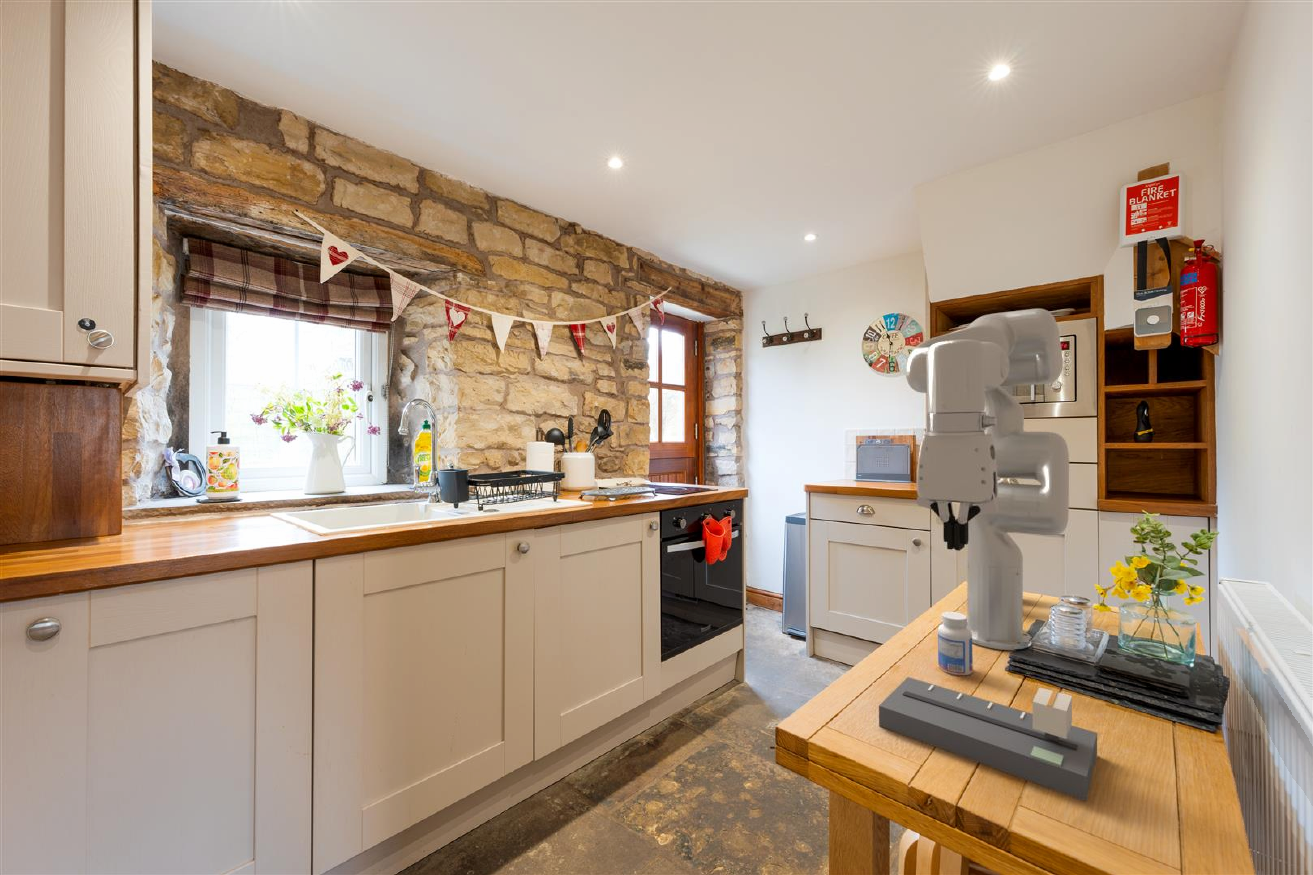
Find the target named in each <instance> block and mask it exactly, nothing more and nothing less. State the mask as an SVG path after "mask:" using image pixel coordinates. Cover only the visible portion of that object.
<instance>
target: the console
mask: <svg viewBox="0 0 1313 875" xmlns="http://www.w3.org/2000/svg"><path fill="white" fill-rule="evenodd" d="M878 726H879V727H881V728H884V729H887V730H890V731H893V732H895V733H897V734H899V735H902V736H906V737H908V738H910V739H914V740H916V741H919V742H923V743H925V744H927V745H930V746H933V747H936V748H938V749H940V750H944V751H947V752H949V753H952V754H954V755H958V756H960V757H962V758H965V759H968V760H971V761H974V762H976V763H979V764H982V765H984V766H986V767H987V766H988V767H991V768H993V769H996V770H998V771H1002V772H1004V773H1007V774H1009V775H1012V776H1015V777H1017V778H1019V779H1020V778H1021V779H1022V780H1026V781H1028V782H1031V783H1034V784H1036V785H1039V786H1041V787H1044V788H1047V789H1051V790H1053V791H1056V792H1058V793H1060V794H1064V795H1067V796H1069V797H1071V798H1075V799H1078V800H1080V801H1083V802H1085V803H1087V802H1088V798H1089V794H1090V793H1089V792H1090V788H1091V783H1092V779H1093V774H1094V770H1095V765H1096V761H1097V757H1098V732H1096V731H1093V730H1090V729H1085V728H1081V727H1078V726H1076V725H1072V724H1071V727H1070V730H1069V733H1068V736H1067V739H1065V738H1061V737H1060V738H1059V741H1055V740H1052V739H1049V738H1046V737H1045V732H1042V731H1039V730H1036V729H1033V712H1032V713H1031V712H1028V711H1024V710H1020V709H1018V708H1015V707H1011V706H1008V705H1004V704H1001V703H999V702H998V703H997V702H993V701H990V700H987V699H983V698H981V697H977V696H973V695H970V694H967V693H964V692H960V691H958V690H957V691H956V690H953V689H950V688H946V687H943V686H940V685H936V684H933V683H931V682H930V683H929V682H926V681H923V680H920V679H915V678H914V677H913V678H912V677H911V676H910V677H909V676H907V677H906V678H904V680H903V681H902V682H901V683H900V684H899V685H898V686H897V687H896V688H895V689H894V690H893V691H892V692H891V693H890V694H889V695H888V696H887V697H886V698H885V699H884V700H883V701H882V702H881V703H880V704H879V705H878Z"/></svg>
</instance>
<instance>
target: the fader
mask: <svg viewBox="0 0 1313 875" xmlns="http://www.w3.org/2000/svg"><path fill="white" fill-rule="evenodd" d="M1032 714H1033V729H1036V730H1039V731H1042V732H1045V737H1046V738H1049V739H1052V740H1055V741H1059V738H1060V737H1061V738H1065V739H1067V736H1068V733H1069V730H1070V727H1071V725H1072V723H1073V696H1072V695H1070V694H1067V693H1063V692H1059V691H1058V690H1050V689H1047V688H1044V687H1039V688H1038V690H1037V692H1036V694H1035V696H1034V698H1033V700H1032Z"/></svg>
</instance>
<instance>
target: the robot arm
mask: <svg viewBox="0 0 1313 875" xmlns="http://www.w3.org/2000/svg"><path fill="white" fill-rule="evenodd" d="M1063 358H1064V357H1063V351H1062V345H1061V336H1060V330H1059V327H1058V324H1057V321H1056V319H1055V316H1054V315H1053V314H1052V313H1051V312H1050V311H1049V310H1047V309H1044V308H1030V309H1021V310H1015V311H1005V312H1004V311H1003V312H997V313H996V312H995V313H990V314H984V315H981V316H980V317H978V318H976V319H975V320H974V321H972V322H971V323H969V325H968V326H967V327H965V328H961V329H958V330H955V331H951V332H949V333H946V334H941V335H938V336H935V337H932V338H929V339H926V340H924V341H921V342H920V343H918V344H917V346H915V347H914V348H913V350H911V352H910V354H909V355H908V358H907V360H906V364H905V379H906V382H907V384H908V385H909V387H910V388H911V389H912V390H913V391H915V392H917V393H922V394H926V433H925V434H922V436H921V441H920V446H919V452H918V458H917V467H916V494H917V498H916V502H915V503H916V504H917V505H918V506H920V507H923V508H926V509H930V510H932V511H933V512H934V513H935V514H936V515H937V516H938V518H939V520H940V521H941V522H943V523H942V524H943V526H942V527H943V530H942V531H943V532H942V534H943V536H942V537H943V542H944V543H946V549H947V550H950V551H951V550H955V551H957V552H958V551H959V552H960V551H961V550H962V549H965V547H967V552H966V553H967V557H966V558H967V560H966V561H967V562H966V564H967V567H966V569H967V584H966V585H967V588H966V590H967V599H966V600H967V602H966V604H967V626H966V627H967V628H969V629H970V630H971V632H972V644H975V645H978V646H981V647H986V648H989V649H994V650H1003V651H1015V650H1014V648H1015V647H1017V646H1019V645H1020V643H1022V642H1029V639H1030V638H1032V636H1031V635H1030V634H1028V633H1027V632H1026V631H1024V630H1023V627H1024V626H1023V625H1024V620H1023V618H1024V617H1023V615H1024V614H1023V613H1024V610H1023V609H1024V605H1023V604H1024V599H1023V598H1024V597H1023V596H1024V592H1023V591H1024V588H1023V587H1024V585H1023V582H1024V581H1023V580H1024V558H1023V557H1024V556H1023V553H1022V550H1021V549H1020V547H1019V546H1018V544H1017V543H1016V542H1015V540H1014V539H1013V538H1012V537H1011V535H1009V534H1008V533H1021V534H1032V535H1039V536H1040V535H1042V536H1057V535H1060V534H1062V533H1064V532H1065V531H1066V529H1067V526H1068V521H1069V512H1070V511H1069V510H1070V497H1069V496H1070V454H1069V449H1068V444H1067V441H1066V439H1065V438H1064V437H1063V436H1062V435H1060V434H1058V433H1056V432H1053V431H1052V432H1050V431H1025V430H1024V427H1025V426H1024V423H1025V422H1024V421H1025V410H1024V408H1023V406H1022V405H1021V404H1020V402H1019V401H1018V400H1017V399H1016V398H1015V397H1014V396H1013V395H1011V394H1010V392H1009V393H1008V392H1007V391H1006V390H1005V389H1004V388H1003V387H1014V386H1036V385H1037V386H1038V385H1039V386H1040V385H1047V384H1052V383H1054V382H1055V381H1056V380H1058V379H1059V378H1060V376H1061V374H1062V371H1063V364H1064V362H1063V360H1064V359H1063ZM999 478H1000V479H1018V480H1019V479H1020V480H1034V481H1037V482H1039V483H1040V484H1029V483H1028V484H1025V483H1013V482H999ZM953 503H959V509H958V514H957V518H956V516H955V512H954V507H953Z"/></svg>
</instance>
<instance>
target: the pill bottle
mask: <svg viewBox="0 0 1313 875" xmlns="http://www.w3.org/2000/svg"><path fill="white" fill-rule="evenodd" d="M941 622H942V624H940V625H938V628H937V656H938V658H937V660H938V661H937V663H938V667H939V669H940V670H942V671H943V672H945V673H947V674H950V675H954V676H968V675H971V674H972V673H973V670H974V669H973V660H974V659H973V643H972V632H971V630H970V629H969V628H967V627H966V626H967V622H968V615H966V614H964V613H961V612H957V611H945V612H942V613H941Z"/></svg>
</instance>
